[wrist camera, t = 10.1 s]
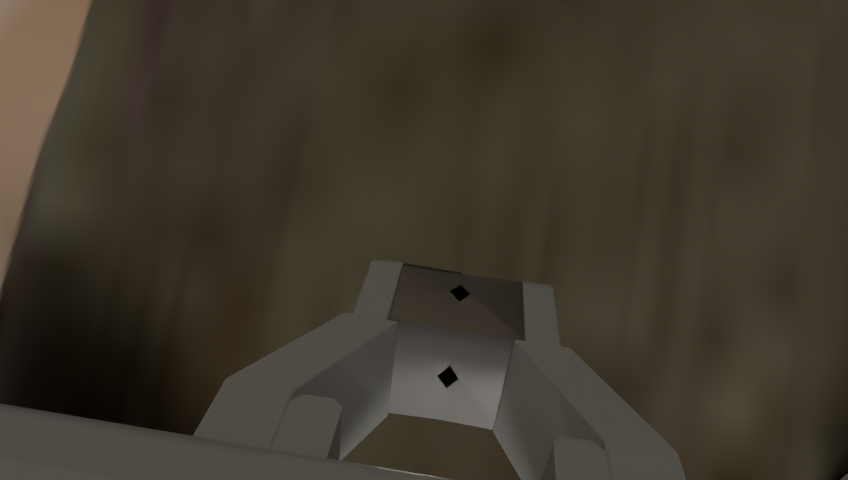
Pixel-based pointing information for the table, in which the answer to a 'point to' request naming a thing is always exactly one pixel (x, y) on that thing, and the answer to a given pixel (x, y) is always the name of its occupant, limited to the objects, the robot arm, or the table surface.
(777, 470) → the table surface
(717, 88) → the table surface
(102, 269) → the table surface
